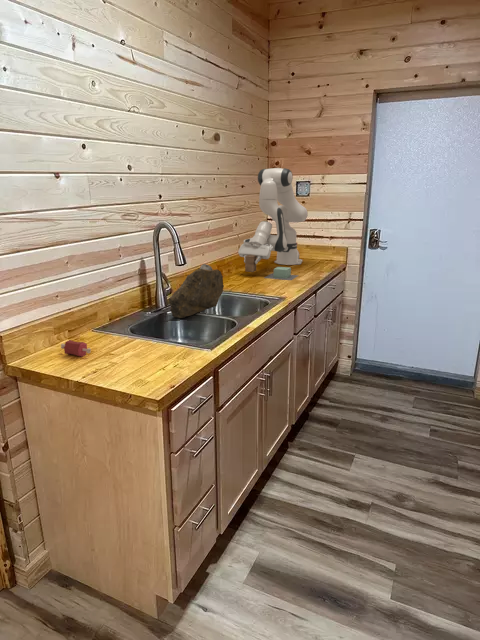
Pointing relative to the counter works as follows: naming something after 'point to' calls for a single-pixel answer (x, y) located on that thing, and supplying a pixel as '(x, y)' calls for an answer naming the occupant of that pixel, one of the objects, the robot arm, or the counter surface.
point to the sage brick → (282, 272)
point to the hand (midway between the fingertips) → (250, 262)
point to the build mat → (281, 278)
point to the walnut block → (250, 263)
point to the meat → (75, 348)
